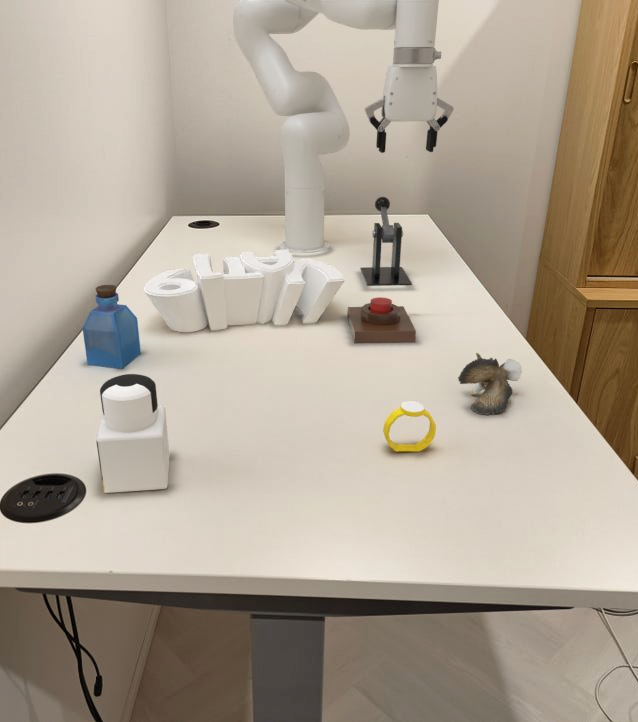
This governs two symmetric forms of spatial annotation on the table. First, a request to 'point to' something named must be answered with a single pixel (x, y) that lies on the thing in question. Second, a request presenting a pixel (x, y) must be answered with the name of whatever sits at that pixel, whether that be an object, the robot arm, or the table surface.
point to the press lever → (385, 219)
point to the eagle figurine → (490, 383)
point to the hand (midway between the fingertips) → (405, 151)
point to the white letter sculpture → (243, 291)
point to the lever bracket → (395, 272)
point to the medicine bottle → (132, 436)
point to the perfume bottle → (111, 331)
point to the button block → (381, 325)
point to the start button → (380, 305)
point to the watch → (414, 411)
